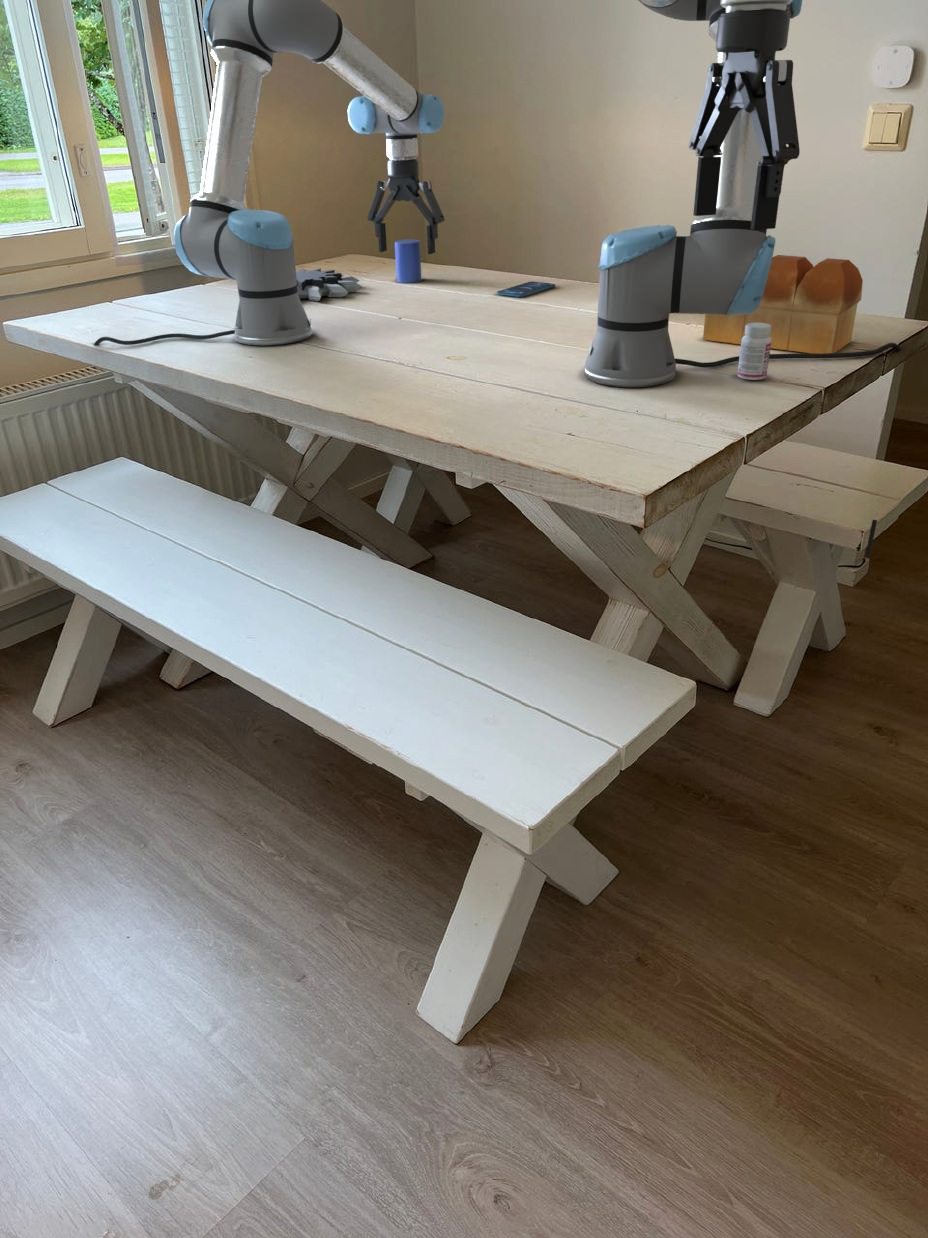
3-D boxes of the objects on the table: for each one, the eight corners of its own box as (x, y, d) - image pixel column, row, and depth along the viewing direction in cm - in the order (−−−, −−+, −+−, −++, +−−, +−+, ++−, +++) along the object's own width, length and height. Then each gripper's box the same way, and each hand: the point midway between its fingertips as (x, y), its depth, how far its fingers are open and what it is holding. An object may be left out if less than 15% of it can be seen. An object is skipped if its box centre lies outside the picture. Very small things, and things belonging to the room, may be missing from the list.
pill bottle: (768, 380, 155) (775, 328, 150) (738, 380, 155) (744, 328, 151) (765, 372, 159) (772, 321, 155) (736, 372, 160) (742, 321, 155)
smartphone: (494, 291, 222) (531, 280, 232) (494, 294, 222) (531, 283, 232) (521, 295, 218) (557, 283, 228) (521, 297, 218) (557, 286, 228)
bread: (700, 339, 180) (707, 257, 172) (725, 326, 188) (734, 247, 181) (832, 356, 167) (847, 268, 159) (853, 341, 175) (868, 257, 168)
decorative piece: (302, 291, 211) (212, 280, 226) (304, 309, 213) (214, 296, 228) (388, 270, 232) (300, 260, 247) (389, 286, 234) (302, 276, 249)
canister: (426, 280, 240) (424, 241, 236) (406, 283, 237) (403, 244, 232) (412, 277, 245) (410, 238, 240) (391, 280, 242) (389, 241, 237)
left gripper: (456, 157, 225) (458, 251, 236) (364, 157, 234) (370, 248, 245) (443, 159, 220) (446, 256, 230) (349, 159, 228) (356, 252, 239)
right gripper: (670, 16, 111) (657, 211, 122) (788, 0, 90) (759, 237, 101) (727, 15, 113) (709, 208, 123) (856, 0, 92) (821, 232, 102)
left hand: (407, 252), depth 237 cm, fingers open, 13 cm apart
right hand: (732, 221), depth 112 cm, fingers open, 13 cm apart
